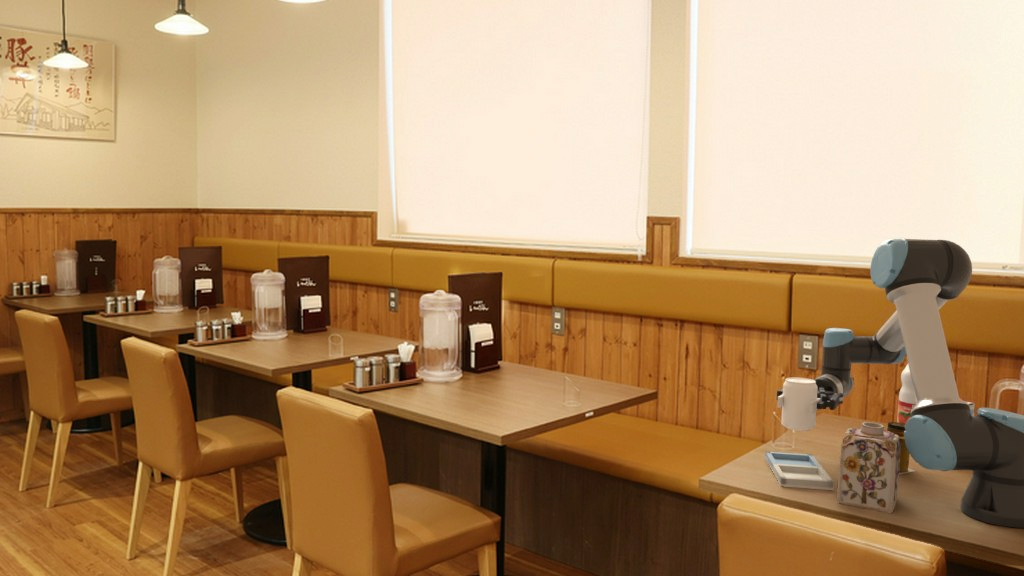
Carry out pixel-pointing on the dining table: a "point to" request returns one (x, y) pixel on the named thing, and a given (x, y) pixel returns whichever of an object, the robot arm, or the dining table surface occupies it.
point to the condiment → (904, 453)
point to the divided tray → (798, 471)
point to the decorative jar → (869, 468)
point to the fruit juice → (906, 397)
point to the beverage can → (798, 404)
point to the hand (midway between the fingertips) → (794, 405)
